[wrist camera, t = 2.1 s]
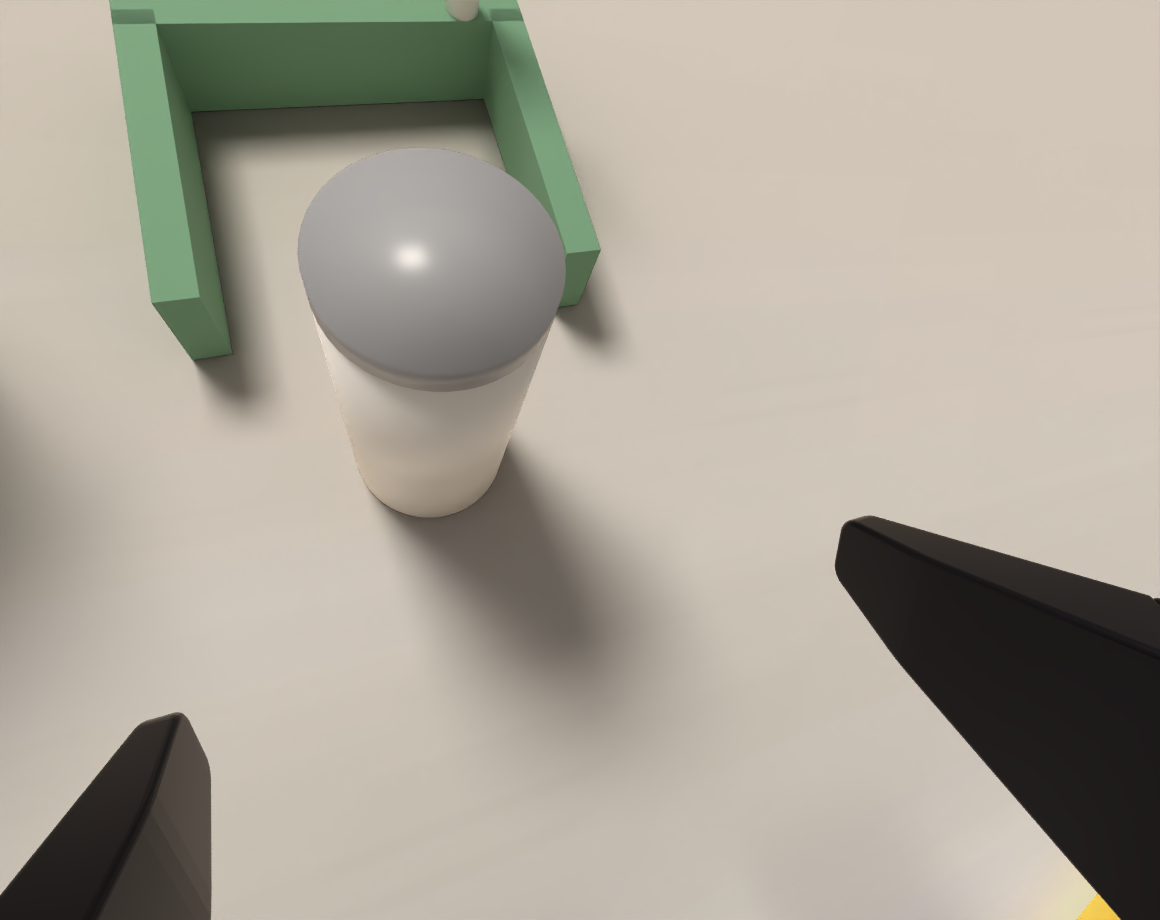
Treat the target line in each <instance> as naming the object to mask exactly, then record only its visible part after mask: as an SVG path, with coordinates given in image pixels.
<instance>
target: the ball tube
mask: <svg viewBox="0 0 1160 920" xmlns="http://www.w3.org/2000/svg"><path fill="white" fill-rule="evenodd" d="M298 261H299V269H300V273H301V276H302V280H303V283H304V287H305V290H306V293H307V297H308V300H309V303H310V307H311V310H312V314H313V317H314V320H315V324H316V327H317V330H318V334H319V337H320V341H321V344H322V347H323V351H324V354H325V357H326V361H327V364H328V368H329V371H330V374H331V378H332V381H333V384H334V388H335V391H336V395H337V398H338V401H339V405H340V408H341V411H342V415H343V418H344V422H345V425H346V428H347V432H348V435H349V438H350V442H351V445H352V448H353V452H354V455H355V459H356V462H357V465H358V469H359V472H360V474H361V476H362V479H363V481H364V482H365V484H366V485H367V487H368V488H369V490H370V491H371V492H372V493H373V494H374V495H375V496H376V497H377V498H378V499H379V500H380V501H381V502H383V503H384V504H386V505H387V506H389V507H390V508H392V509H394V510H396V511H398V512H401V513H404V514H407V515H411V516H415V517H424V518H433V517H442V516H447V515H451V514H454V513H457V512H459V511H461V510H464V509H465V508H467V507H469V506H470V505H472V504H473V503H475V502H476V501H477V500H478V499H480V498H481V497H482V496H483V495H484V493H485V492H486V491H487V490H488V489H489V487H490V486H491V484H492V482H493V481H494V479H495V477H496V474H497V471H498V469H499V466H500V463H501V461H502V458H503V455H504V453H505V450H506V447H507V444H508V442H509V439H510V436H511V434H512V431H513V428H514V425H515V423H516V420H517V417H518V415H519V412H520V409H521V407H522V404H523V401H524V398H525V396H526V393H527V390H528V388H529V385H530V382H531V379H532V377H533V374H534V371H535V369H536V366H537V363H538V361H539V358H540V355H541V352H542V350H543V347H544V344H545V342H546V339H547V336H548V333H549V331H550V328H551V325H552V323H553V320H554V317H555V314H556V312H557V309H558V306H559V304H560V301H561V298H562V295H563V290H564V285H565V275H566V265H565V255H564V250H563V246H562V242H561V239H560V237H559V234H558V232H557V229H556V227H555V225H554V223H553V221H552V219H551V218H550V216H549V214H548V213H547V211H546V210H545V209H544V207H543V206H542V204H541V203H540V202H539V201H538V200H537V199H536V197H535V196H534V195H533V194H532V193H531V192H530V191H529V190H528V189H527V188H526V187H524V186H523V185H522V184H521V183H520V182H519V181H517V180H516V179H515V178H513V177H512V176H510V175H509V174H507V173H506V172H504V171H503V170H501V169H499V168H497V167H495V166H493V165H492V164H490V163H487V162H485V161H483V160H480V159H478V158H475V157H472V156H469V155H466V154H463V153H459V152H454V151H449V150H444V149H435V148H404V149H396V150H390V151H386V152H382V153H377V154H375V155H372V156H369V157H366V158H364V159H361V160H359V161H357V162H355V163H353V164H351V165H349V166H348V167H346V168H345V169H343V170H342V171H340V172H339V173H337V174H336V175H335V176H334V177H333V178H331V179H330V180H329V181H328V182H327V183H326V184H325V185H324V186H323V187H322V188H321V190H320V191H319V192H318V193H317V194H316V196H315V197H314V199H313V200H312V202H311V204H310V205H309V207H308V209H307V211H306V213H305V216H304V219H303V221H302V224H301V228H300V233H299V238H298Z"/></svg>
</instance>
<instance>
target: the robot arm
mask: <svg viewBox="0 0 1160 920" xmlns="http://www.w3.org/2000/svg"><path fill="white" fill-rule="evenodd" d="M835 571H836V574H837V577H838V579H839V581H840V582H841V584H842V585H843V586H844V588H845V589H846V591H847V592H848V593H849V595H850V596H851V598H852V599H853V600H854V602H855V603H856V605H857V606H858V607H859V609H860V610H861V612H862V613H863V614H864V616H865V617H866V619H867V620H868V621H869V623H870V624H871V626H872V627H873V628H874V630H875V631H876V633H877V634H878V635H879V637H880V638H881V640H882V641H883V642H884V644H885V645H886V647H887V648H888V649H889V651H890V652H891V653H892V655H893V656H894V657H895V659H896V660H897V661H898V662H899V664H900V665H901V666H902V667H903V669H904V670H905V671H906V672H907V673H908V675H909V676H910V677H911V678H912V679H913V680H914V682H915V683H916V684H917V685H918V686H919V687H920V688H921V690H922V691H923V692H924V693H925V694H926V695H927V697H928V698H929V699H930V700H931V701H932V702H933V703H934V705H935V706H936V707H937V708H938V709H939V710H940V712H941V713H942V714H943V715H944V716H945V717H946V718H947V720H948V721H949V722H950V723H951V724H952V725H953V727H954V728H955V729H956V730H957V731H958V732H959V734H960V735H961V736H962V737H963V738H964V739H965V740H966V742H967V743H968V744H969V745H970V746H971V747H972V749H973V750H974V751H975V752H976V753H977V754H978V755H979V757H980V758H981V759H982V760H983V761H984V762H985V764H986V765H987V766H988V767H989V768H990V769H991V771H992V772H993V773H994V774H995V775H996V776H997V777H998V779H999V780H1000V781H1001V782H1002V783H1003V784H1004V786H1005V787H1006V788H1007V789H1008V790H1009V791H1010V792H1011V794H1012V795H1013V796H1014V797H1015V798H1016V799H1017V801H1018V802H1019V803H1020V804H1021V805H1022V806H1023V808H1024V809H1025V810H1026V811H1027V812H1028V813H1029V814H1030V816H1031V817H1032V818H1033V819H1034V820H1035V821H1036V823H1037V824H1038V825H1039V826H1040V827H1041V828H1042V829H1043V831H1044V832H1045V833H1046V834H1047V835H1048V836H1049V838H1050V839H1051V840H1052V841H1053V842H1054V843H1055V844H1056V846H1057V847H1058V848H1059V849H1060V850H1061V851H1062V853H1063V854H1064V855H1065V856H1066V857H1067V858H1068V860H1069V861H1070V862H1071V863H1072V864H1073V865H1074V866H1075V868H1076V869H1077V870H1078V871H1079V872H1080V873H1081V875H1082V876H1083V877H1084V878H1085V879H1086V880H1087V881H1088V883H1089V884H1090V885H1091V886H1092V887H1093V888H1094V890H1095V891H1096V892H1097V893H1098V894H1099V895H1100V897H1101V898H1102V899H1103V900H1104V901H1105V902H1106V903H1107V905H1108V906H1109V907H1110V908H1111V909H1112V910H1113V912H1114V913H1115V914H1116V915H1117V916H1118V917H1119V918H1120V920H1160V598H1154V599H1153V598H1152V597H1150V596H1149V595H1145V594H1142V593H1138V592H1135V591H1131V590H1128V589H1125V588H1121V587H1118V586H1114V585H1111V584H1107V583H1104V582H1100V581H1097V580H1093V579H1090V578H1086V577H1083V576H1080V575H1076V574H1073V573H1069V572H1066V571H1062V570H1059V569H1055V568H1052V567H1048V566H1045V565H1041V564H1038V563H1035V562H1031V561H1028V560H1024V559H1021V558H1017V557H1014V556H1010V555H1007V554H1003V553H1000V552H997V551H993V550H990V549H986V548H983V547H979V546H976V545H972V544H969V543H965V542H962V541H958V540H955V539H952V538H948V537H945V536H941V535H938V534H934V533H931V532H927V531H924V530H920V529H917V528H914V527H910V526H907V525H903V524H900V523H896V522H893V521H889V520H886V519H882V518H879V517H875V516H863V517H859V518H856V519H852V520H849V521H847V522H846V523H845V524H844V525H843V527H842V529H841V533H840V539H839V544H838V549H837V555H836V560H835ZM0 920H211V774H210V767H209V763H208V760H207V757H206V755H205V753H204V751H203V749H202V747H201V744H200V742H199V740H198V738H197V736H196V734H195V732H194V730H193V728H192V726H191V724H190V721H189V720H188V718H187V717H186V716H185V715H184V714H183V713H178V712H176V713H172V714H168V715H165V716H161V717H158V718H154V719H151V720H147V721H145V722H143V723H141V724H140V725H138V726H137V727H136V728H135V729H134V730H133V732H132V733H131V734H130V735H129V737H128V738H127V739H126V740H125V742H124V743H123V744H122V745H121V746H120V748H119V749H118V750H117V751H116V753H115V754H114V755H113V756H112V758H111V759H110V760H109V761H108V763H107V764H106V765H105V766H104V767H103V769H102V770H101V771H100V772H99V774H98V775H97V776H96V777H95V779H94V780H93V781H92V782H91V784H90V785H89V786H88V787H87V789H86V790H85V791H84V792H83V793H82V795H81V796H80V797H79V798H78V800H77V801H76V802H75V803H74V805H73V806H72V807H71V808H70V810H69V811H68V812H67V813H66V814H65V816H64V817H63V818H62V819H61V821H60V822H59V823H58V824H57V826H56V827H55V828H54V829H53V831H52V832H51V833H50V834H49V835H48V837H47V838H46V839H45V840H44V842H43V843H42V844H41V845H40V847H39V848H38V849H37V850H36V852H35V853H34V854H33V855H32V856H31V858H30V859H29V860H28V861H27V863H26V864H25V865H24V866H23V868H22V869H21V870H20V871H19V873H18V874H17V875H16V876H15V877H14V879H13V880H12V881H11V882H10V884H9V885H8V886H7V887H6V889H5V890H4V891H3V892H2V894H1V895H0Z"/></svg>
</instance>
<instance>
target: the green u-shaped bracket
mask: <svg viewBox="0 0 1160 920" xmlns="http://www.w3.org/2000/svg"><path fill="white" fill-rule="evenodd" d="M109 2H110V10H111V17H112V24H113V31H114V38H115V45H116V52H117V60H118V67H119V74H120V81H121V88H122V95H123V102H124V110H125V117H126V124H127V131H128V138H129V145H130V152H131V160H132V167H133V174H134V181H135V188H136V195H137V202H138V210H139V217H140V224H141V231H142V238H143V245H144V252H145V260H146V267H147V274H148V281H149V288H150V295H151V302H152V304H153V306H154V307H155V308H156V310H157V311H158V313H159V314H160V315H161V317H162V318H163V320H164V321H165V322H166V324H167V325H168V327H169V328H170V329H171V331H172V332H173V334H174V335H175V336H176V338H177V339H178V341H179V342H180V343H181V345H182V346H183V348H184V349H185V350H186V352H187V353H188V355H189V356H190V357H191V359H192V360H195V359H202V358H209V357H216V356H223V355H230V354H232V348H231V342H230V336H229V330H228V324H227V318H226V313H225V307H224V301H223V295H222V289H221V283H220V277H219V272H218V266H217V260H216V254H215V248H214V242H213V236H212V231H211V225H210V219H209V213H208V207H207V201H206V195H205V189H204V184H203V178H202V172H201V166H200V160H199V154H198V148H197V143H196V137H195V131H194V125H193V119H192V113H191V112H194V111H217V110H240V109H263V108H286V107H309V106H332V105H355V104H378V103H401V102H424V101H447V100H470V99H484V101H485V104H486V107H487V111H488V114H489V117H490V120H491V124H492V127H493V130H494V133H495V137H496V140H497V143H498V147H499V150H500V153H501V156H502V160H503V163H504V166H505V169H506V173H507V174H509V175H510V176H512V177H513V178H515V179H516V180H517V181H519V182H520V183H521V184H522V185H523V186H524V187H526V188H527V189H528V190H529V191H530V192H531V193H532V194H533V195H534V196H535V197H536V199H537V200H538V201H539V202H540V203H541V204H542V206H543V207H544V209H545V210H546V211H547V213H548V214H549V216H550V218H551V219H552V221H553V223H554V225H555V227H556V229H557V232H558V234H559V237H560V239H561V242H562V246H563V250H564V255H565V265H566V275H565V285H564V290H563V295H562V298H561V301H560V304H559V306H558V307H563V306H570V305H577V304H578V303H579V300H580V298H581V296H582V293H583V291H584V288H585V286H586V284H587V281H588V279H589V277H590V274H591V272H592V269H593V267H594V265H595V262H596V260H597V257H598V255H599V253H600V250H601V248H600V245H599V242H598V239H597V237H596V234H595V231H594V228H593V225H592V222H591V219H590V216H589V213H588V210H587V207H586V204H585V201H584V198H583V195H582V192H581V189H580V186H579V183H578V180H577V177H576V174H575V171H574V168H573V165H572V162H571V159H570V157H569V154H568V151H567V148H566V145H565V142H564V139H563V136H562V133H561V130H560V127H559V124H558V121H557V118H556V115H555V112H554V109H553V106H552V103H551V100H550V97H549V94H548V91H547V88H546V85H545V82H544V79H543V76H542V74H541V71H540V68H539V65H538V62H537V59H536V56H535V53H534V50H533V47H532V44H531V41H530V38H529V35H528V32H527V29H526V26H525V23H524V20H523V17H522V14H521V11H520V8H519V5H518V2H517V0H109Z"/></svg>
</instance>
